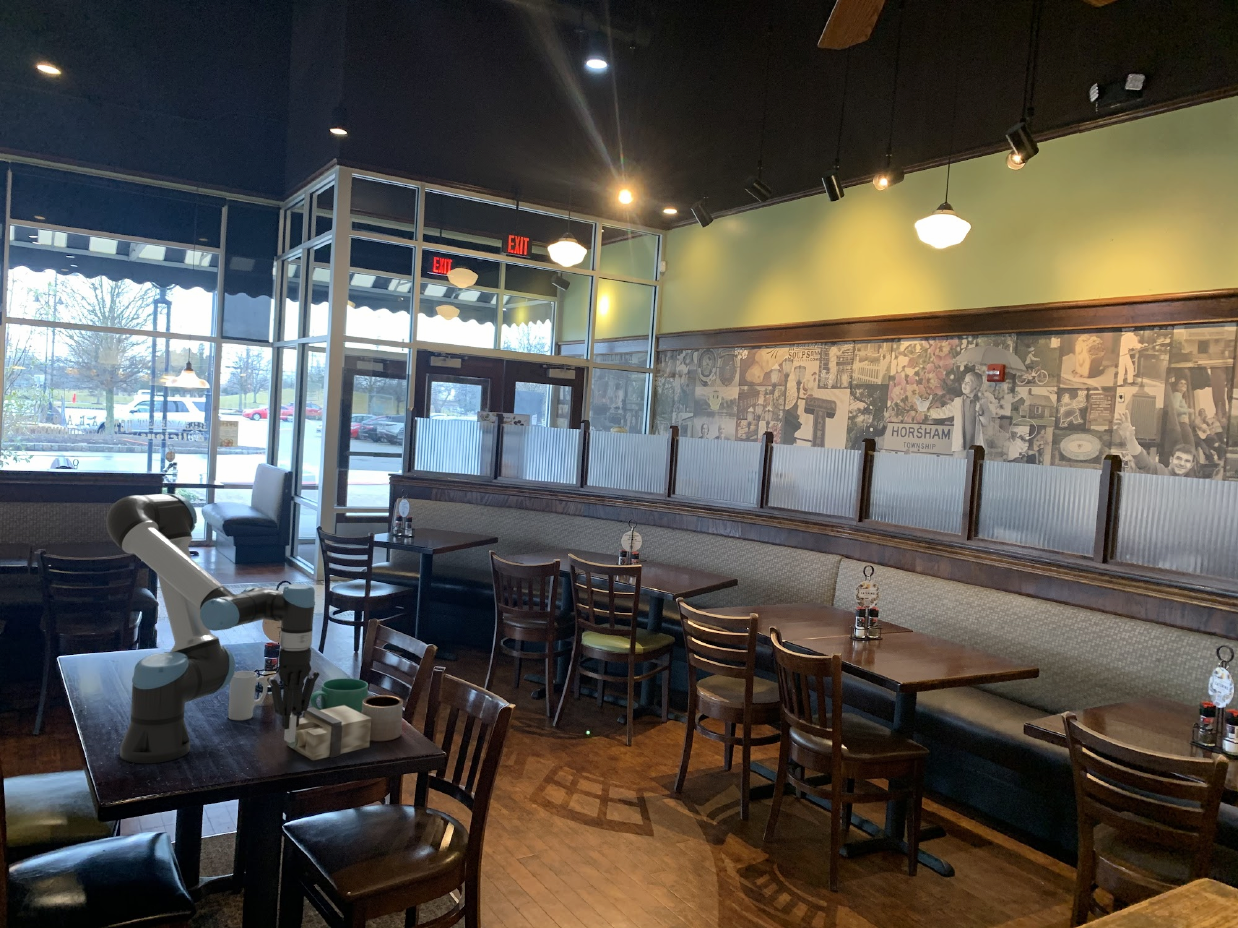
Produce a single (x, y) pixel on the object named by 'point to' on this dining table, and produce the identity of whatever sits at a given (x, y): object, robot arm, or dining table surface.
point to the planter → (383, 717)
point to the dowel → (301, 737)
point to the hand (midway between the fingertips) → (289, 740)
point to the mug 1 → (244, 694)
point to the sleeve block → (333, 732)
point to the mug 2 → (341, 694)
